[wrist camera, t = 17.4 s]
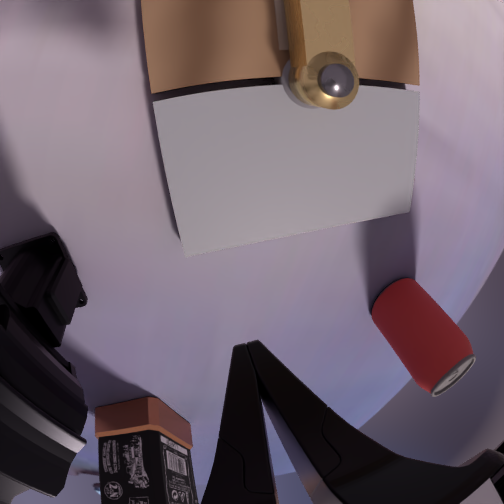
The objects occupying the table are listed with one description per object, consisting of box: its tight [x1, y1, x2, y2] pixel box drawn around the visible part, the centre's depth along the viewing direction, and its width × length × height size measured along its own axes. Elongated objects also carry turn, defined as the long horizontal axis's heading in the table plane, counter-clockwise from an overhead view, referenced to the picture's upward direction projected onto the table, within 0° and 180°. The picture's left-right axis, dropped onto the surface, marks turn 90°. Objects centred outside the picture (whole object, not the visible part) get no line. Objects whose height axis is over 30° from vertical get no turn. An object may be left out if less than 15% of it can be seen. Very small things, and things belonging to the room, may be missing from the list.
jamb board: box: [153, 59, 420, 257], centre depth 17 cm, size 18×12×2 cm
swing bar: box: [283, 0, 359, 110], centre depth 10 cm, size 13×3×3 cm, turn 5°
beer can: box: [372, 278, 476, 397], centre depth 25 cm, size 7×7×12 cm
